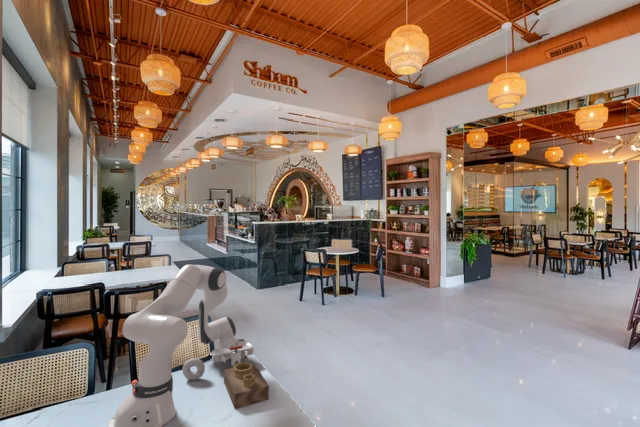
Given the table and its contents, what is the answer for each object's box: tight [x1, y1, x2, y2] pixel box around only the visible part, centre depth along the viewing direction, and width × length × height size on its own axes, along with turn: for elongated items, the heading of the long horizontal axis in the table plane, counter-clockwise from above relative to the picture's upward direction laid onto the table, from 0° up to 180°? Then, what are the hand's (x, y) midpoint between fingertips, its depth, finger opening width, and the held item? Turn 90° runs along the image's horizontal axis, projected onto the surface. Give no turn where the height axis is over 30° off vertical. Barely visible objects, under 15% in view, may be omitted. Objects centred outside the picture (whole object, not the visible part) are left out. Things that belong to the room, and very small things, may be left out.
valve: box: [229, 345, 242, 368], centre depth 158 cm, size 6×5×12 cm
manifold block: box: [223, 361, 270, 410], centre depth 142 cm, size 14×22×9 cm, turn 27°
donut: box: [182, 357, 206, 381], centre depth 151 cm, size 10×4×10 cm, turn 97°
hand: (236, 358), depth 157 cm, fingers open, 8 cm apart
